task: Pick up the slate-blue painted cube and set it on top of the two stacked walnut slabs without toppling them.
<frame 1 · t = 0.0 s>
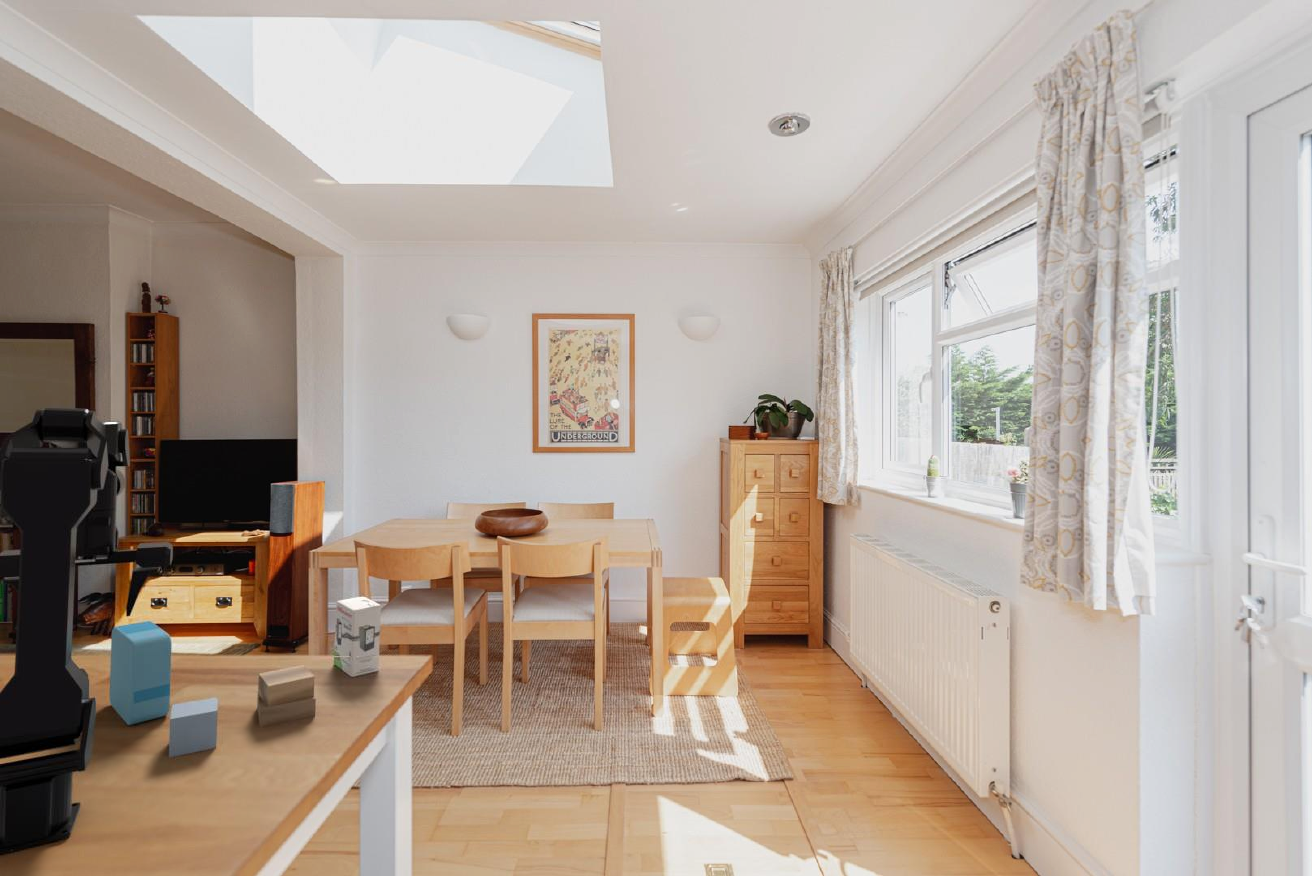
hand: (85, 620, 88), 15 cm above the table, fingers open, 9 cm apart
lower slab: (285, 714, 94), on the table, touching upper slab
data package: (138, 712, 93), on the table
blue cube: (193, 745, 84), on the table
ink box: (356, 668, 113), on the table
upper slab: (285, 695, 94), point 3 cm above the table, touching lower slab
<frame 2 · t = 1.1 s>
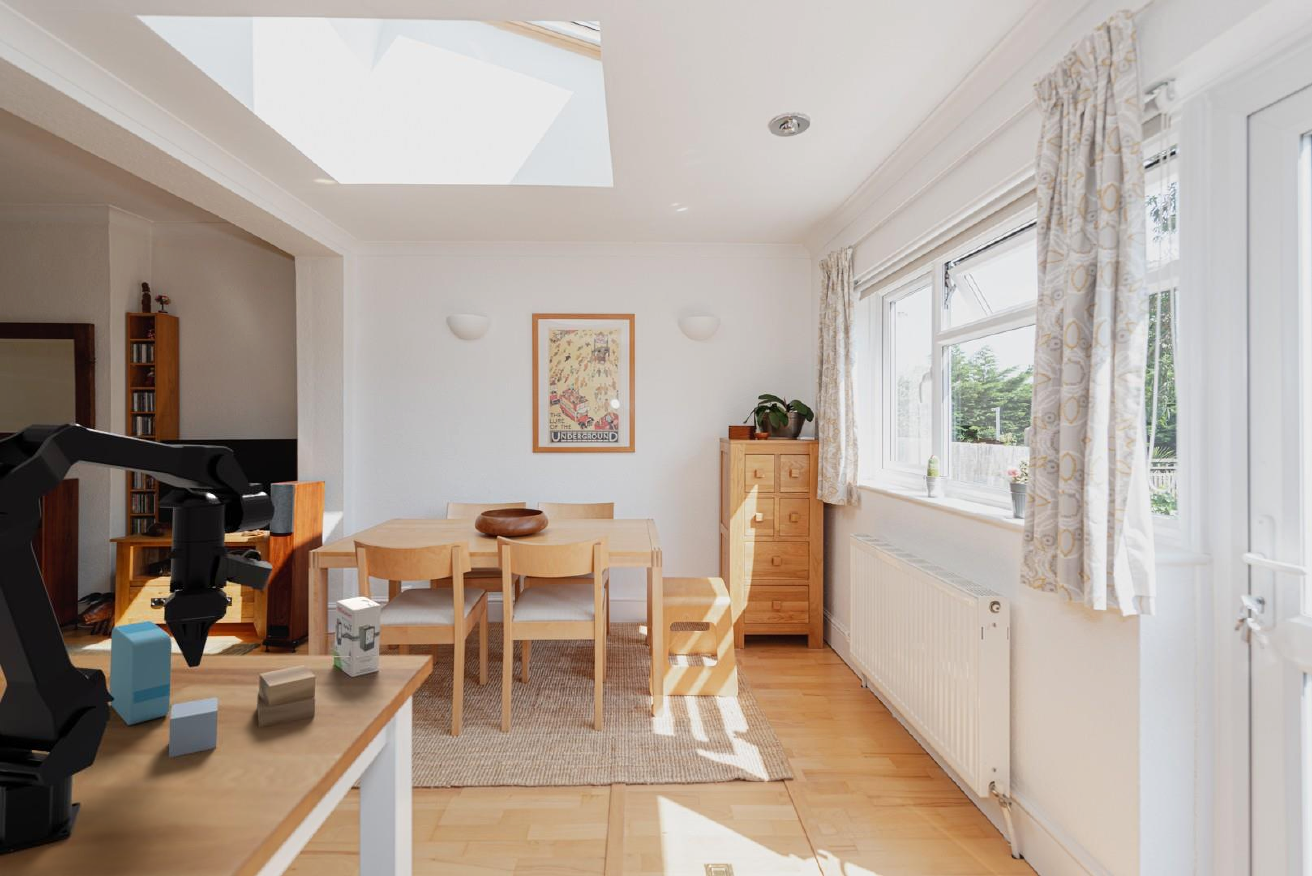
hand: (194, 655, 84), 12 cm above the table, fingers open, 9 cm apart
nothing on the table moved.
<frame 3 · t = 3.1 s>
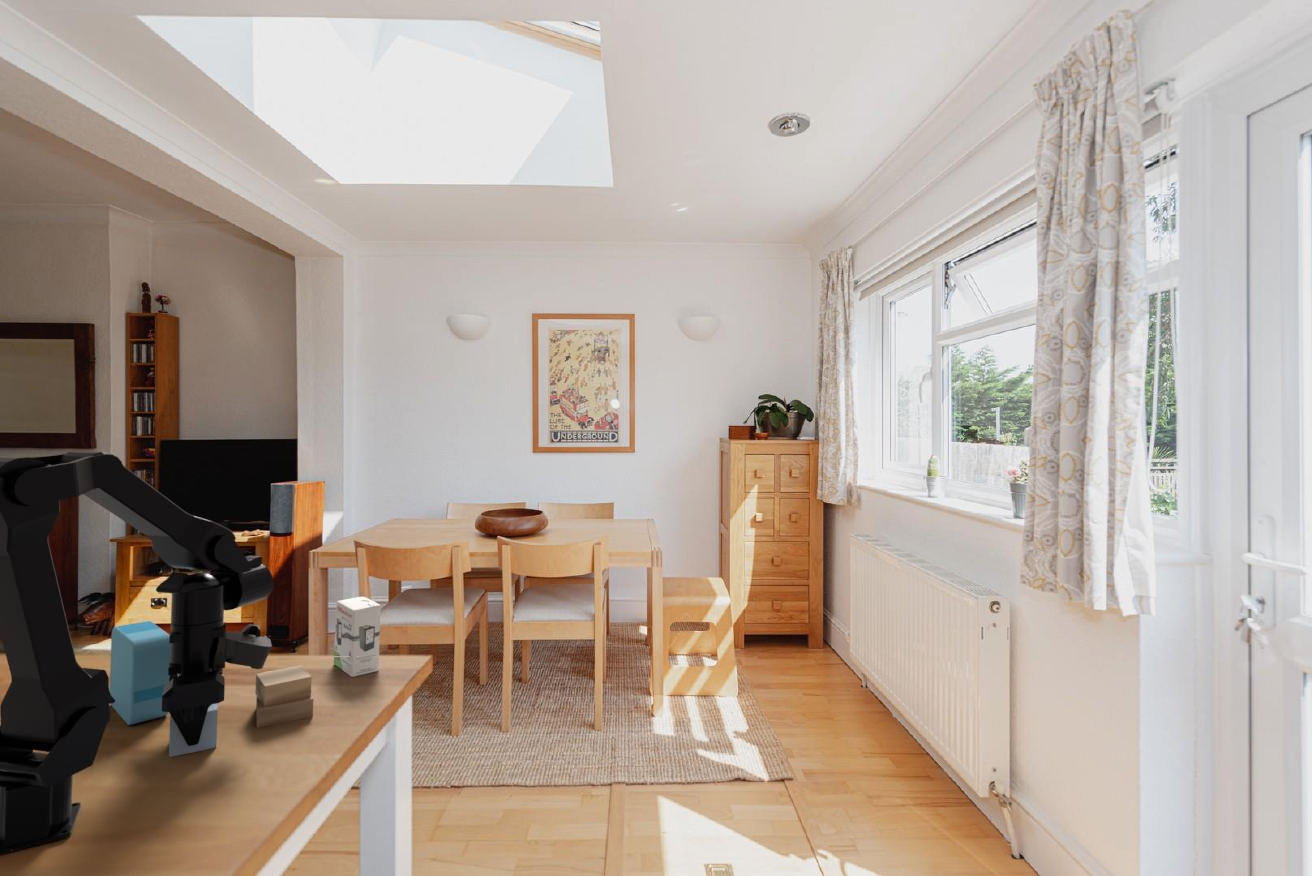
hand: (193, 736, 84), 1 cm above the table, fingers closed on blue cube, 5 cm apart
blue cube: (193, 744, 84), on the table, touching gripper
everything else where it was.
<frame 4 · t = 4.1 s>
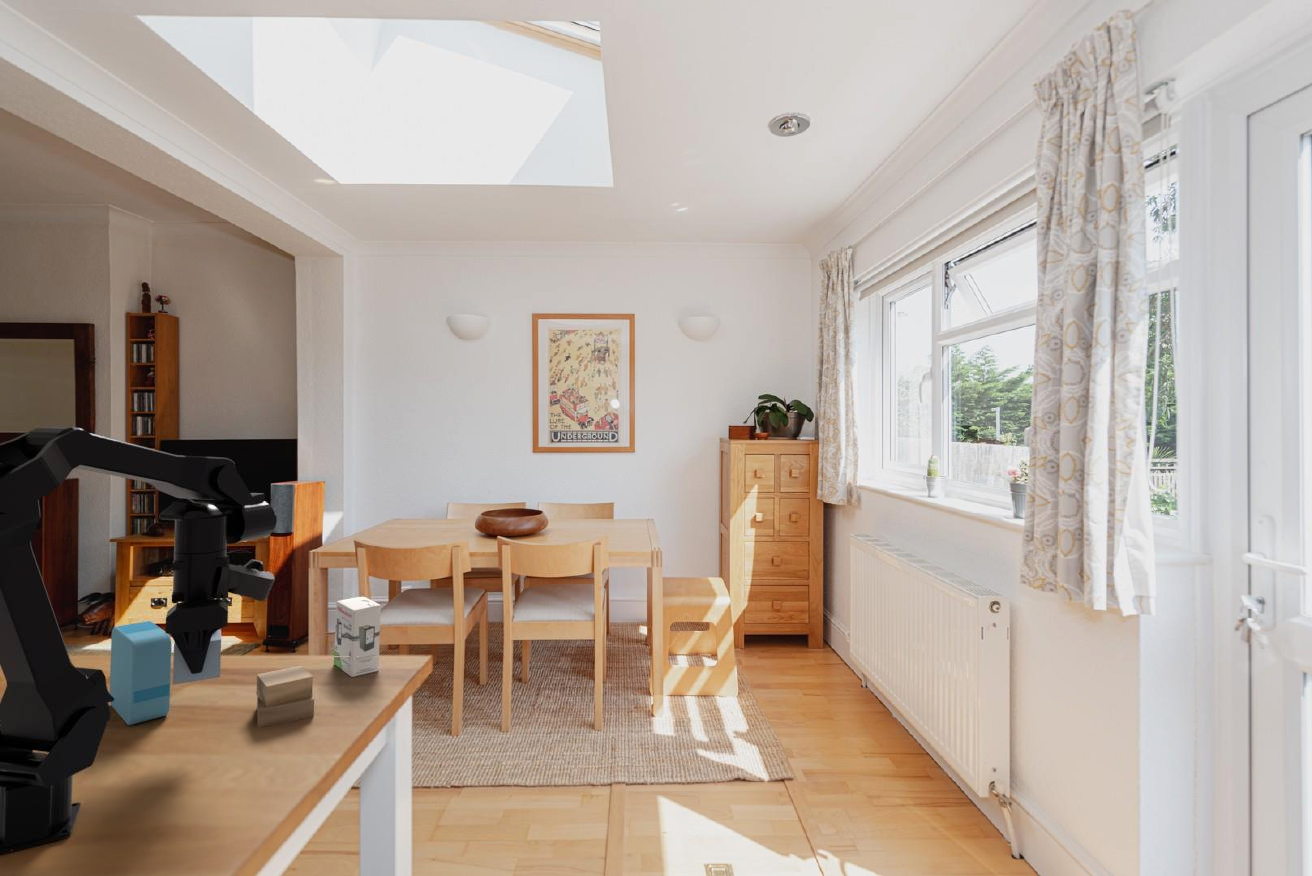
hand: (197, 666, 84), 10 cm above the table, fingers closed on blue cube, 5 cm apart
blue cube: (197, 674, 84), point 9 cm above the table, touching gripper
everything else where it was.
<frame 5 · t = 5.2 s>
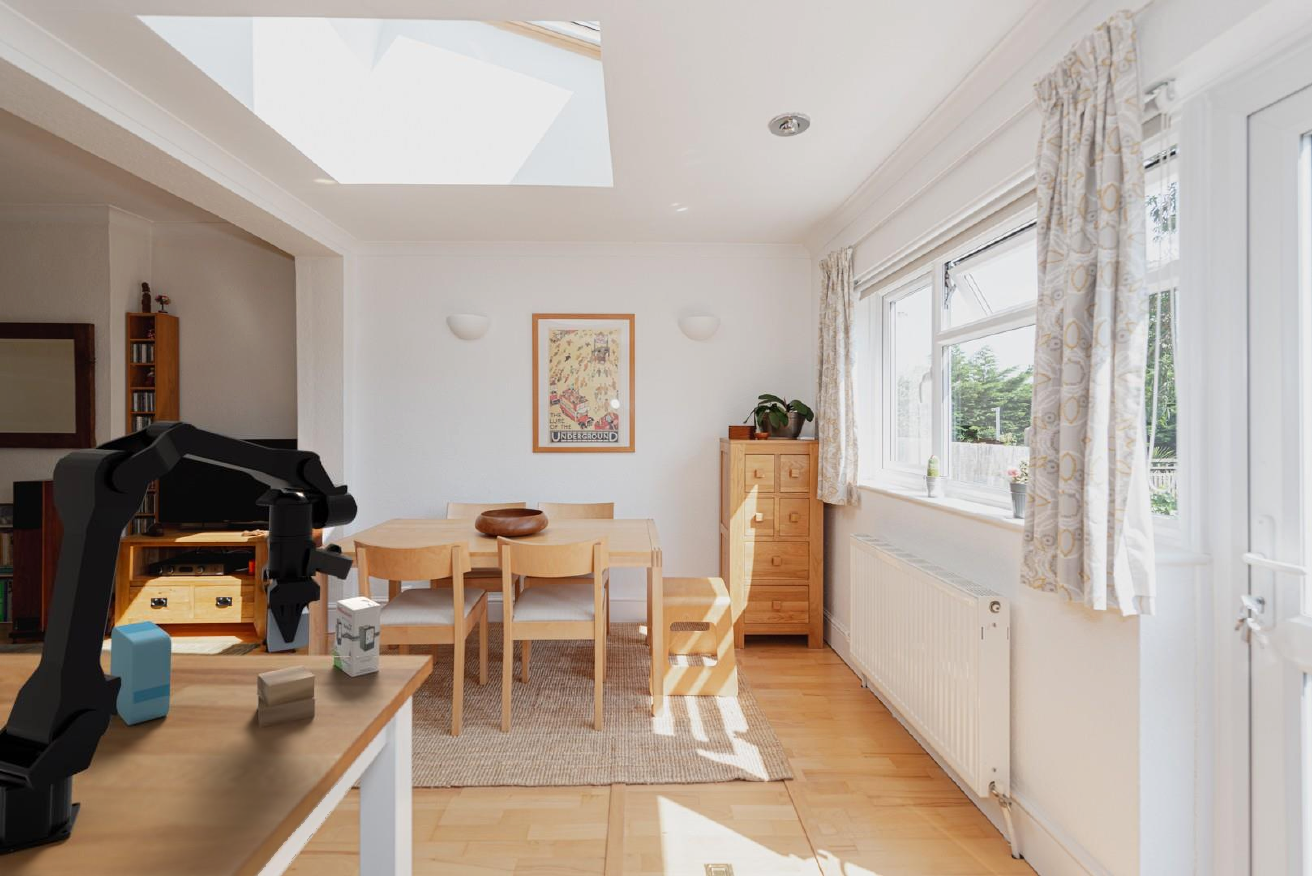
hand: (287, 637, 94), 11 cm above the table, fingers closed on blue cube, 5 cm apart
blue cube: (287, 644, 94), point 10 cm above the table, touching gripper
everything else where it was.
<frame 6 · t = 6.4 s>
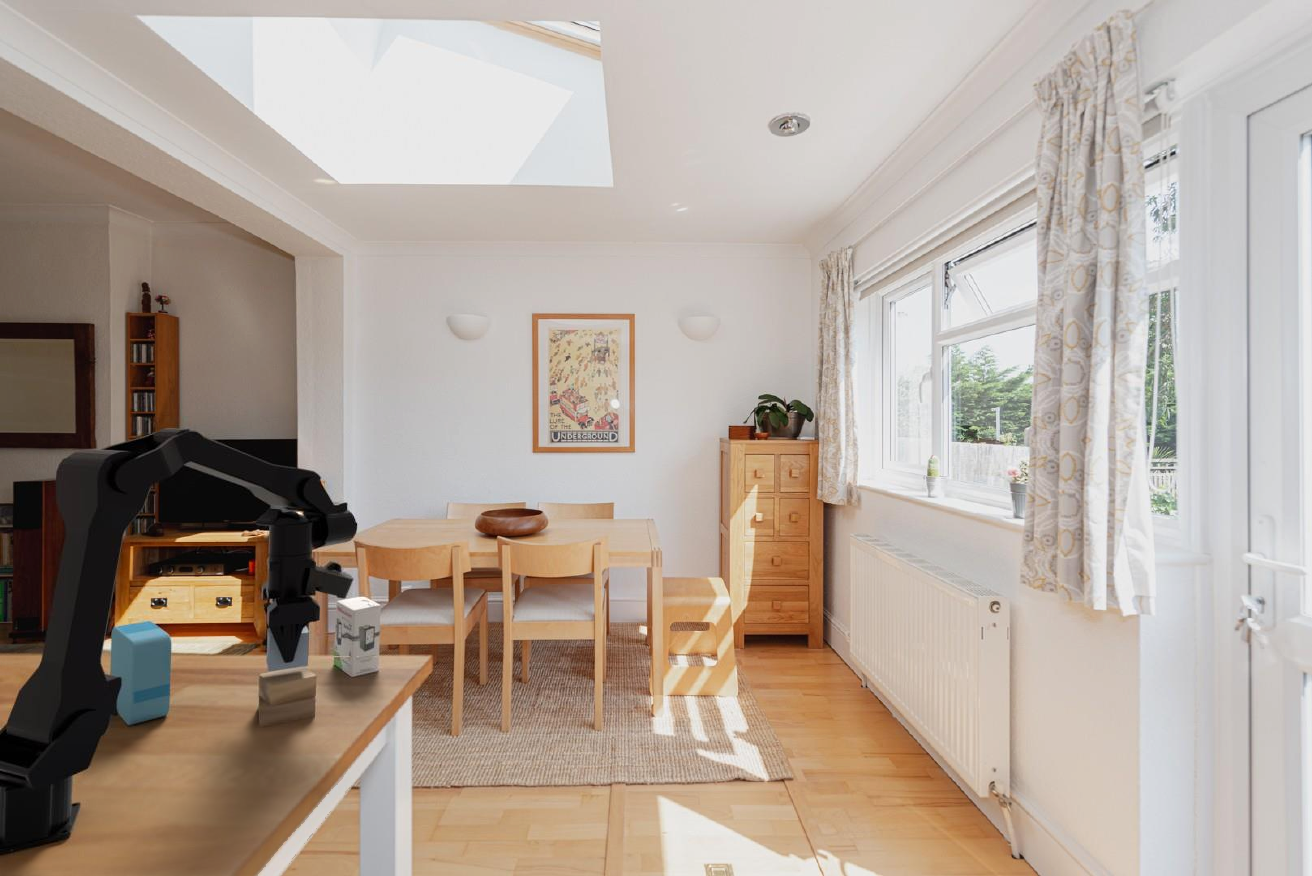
hand: (287, 656, 94), 8 cm above the table, fingers closed on blue cube, 5 cm apart
blue cube: (287, 663, 94), point 7 cm above the table, touching gripper
everything else where it was.
when the fingers open (8 cm above the table, at t = 6.5 s): blue cube drops 2 cm, point 6 cm above the table.
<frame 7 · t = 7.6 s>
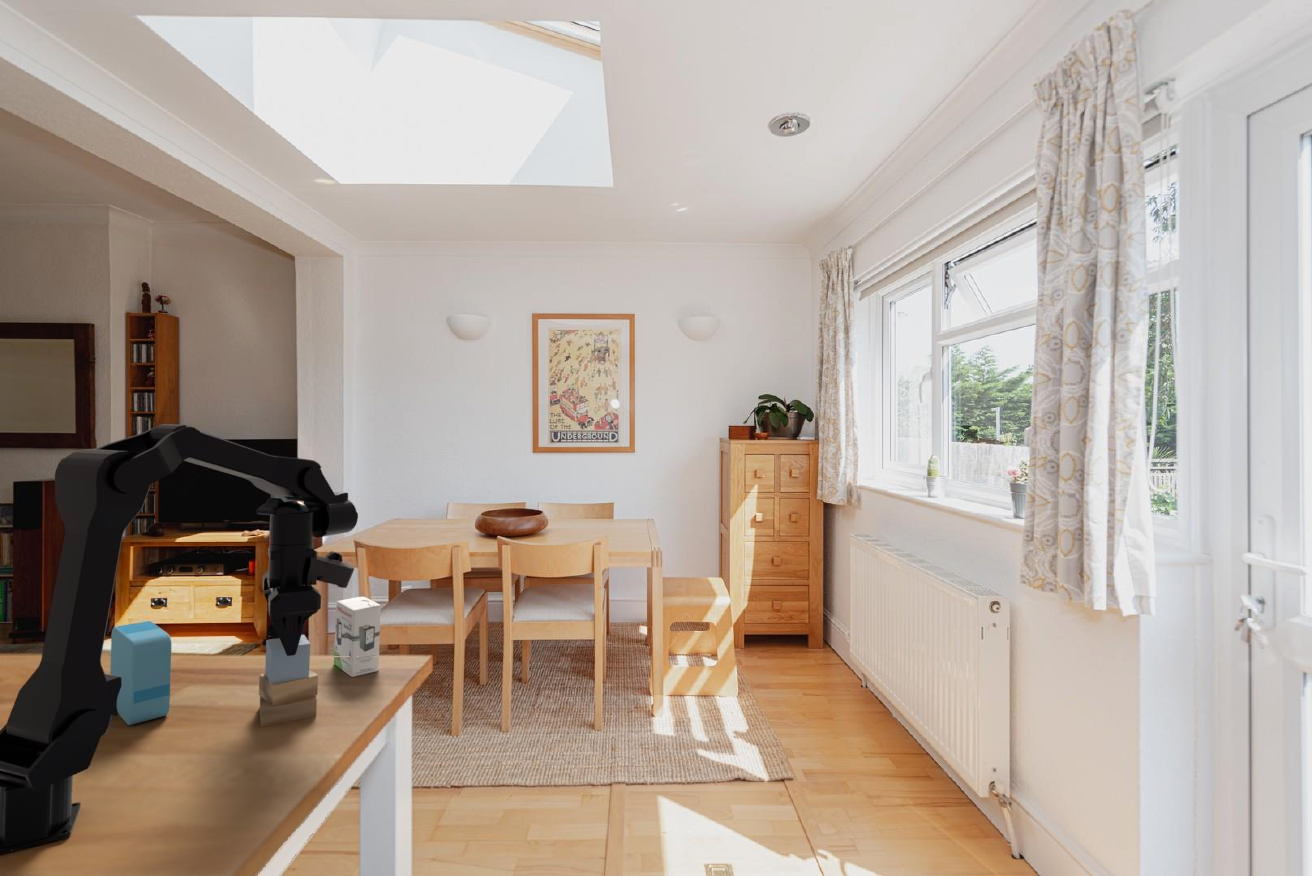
hand: (288, 646, 95), 10 cm above the table, fingers open, 9 cm apart
lower slab: (287, 715, 95), on the table
blue cube: (286, 675, 94), point 6 cm above the table
upper slab: (288, 694, 95), point 3 cm above the table
everything else where it was.
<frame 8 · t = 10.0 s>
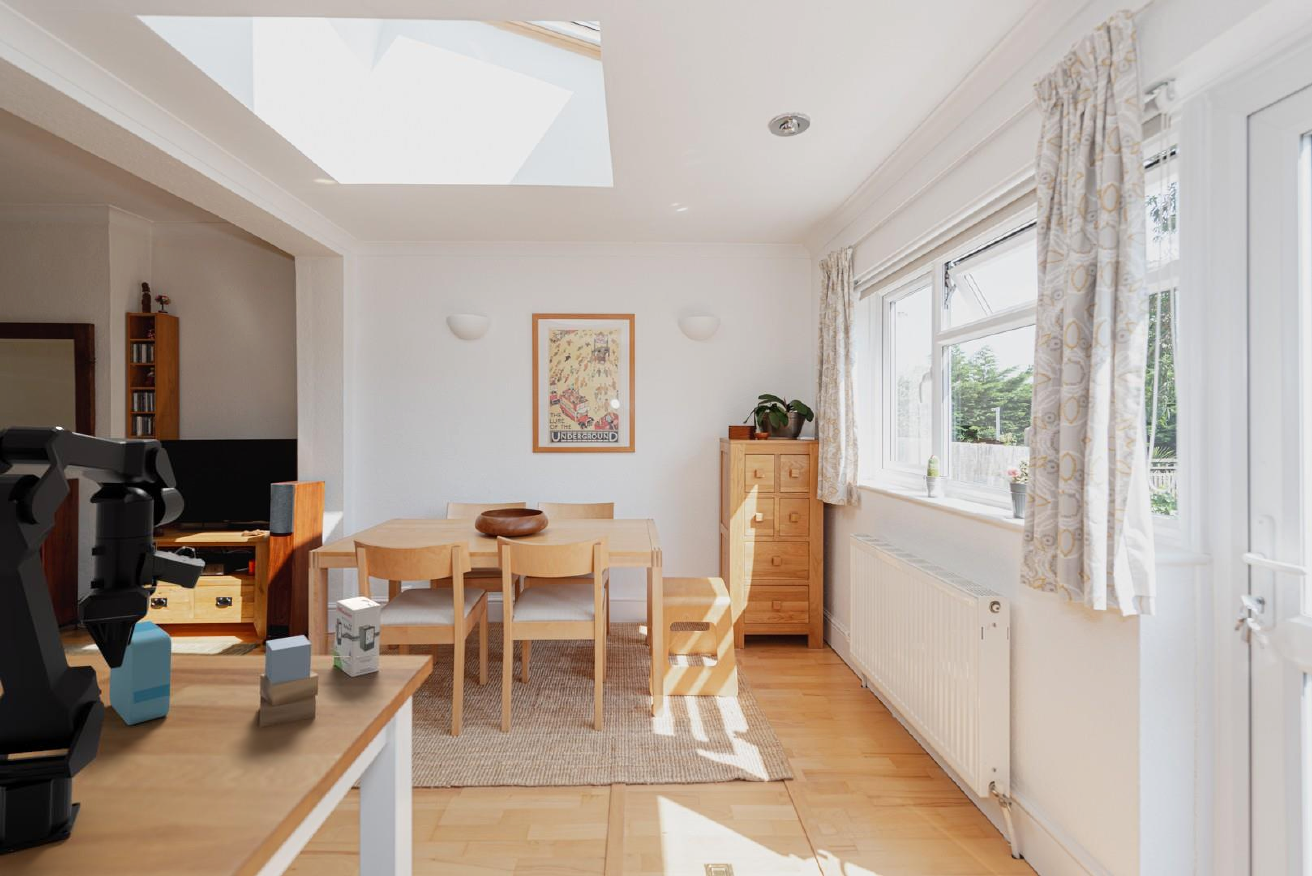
hand: (120, 656, 81), 13 cm above the table, fingers open, 9 cm apart
blue cube: (287, 675, 94), point 6 cm above the table, touching upper slab
upper slab: (288, 694, 95), point 3 cm above the table, touching blue cube
everything else where it was.
at the end: blue cube 0.4 cm off-centre on the lower slab, point 6.0 cm above the lower slab's base; upper slab 0.1 cm off-centre on the lower slab, point 3.0 cm above the lower slab's base; the gripper is holding nothing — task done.
